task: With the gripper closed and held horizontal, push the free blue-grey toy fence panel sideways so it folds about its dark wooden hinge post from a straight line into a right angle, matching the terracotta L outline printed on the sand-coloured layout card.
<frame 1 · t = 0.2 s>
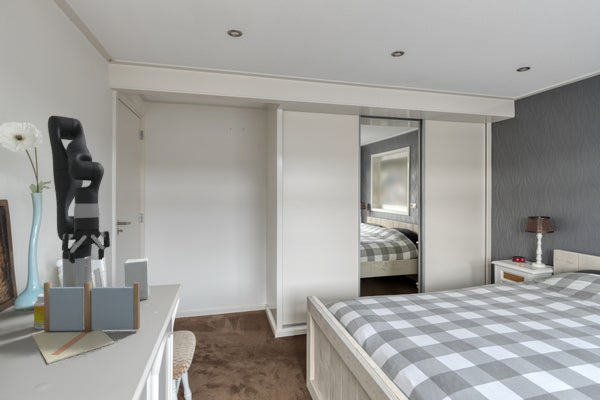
hand: (86, 261, 112), 18 cm above the table, tool pointing down, fingers open, 8 cm apart
layout card: (72, 338, 91), on the table
skincare box: (137, 298, 125), on the table
fence panel: (115, 306, 96), point 8 cm above the table, hinge at 0.0°
supplement bottle: (45, 326, 99), on the table
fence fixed: (88, 331, 96), resting on layout card
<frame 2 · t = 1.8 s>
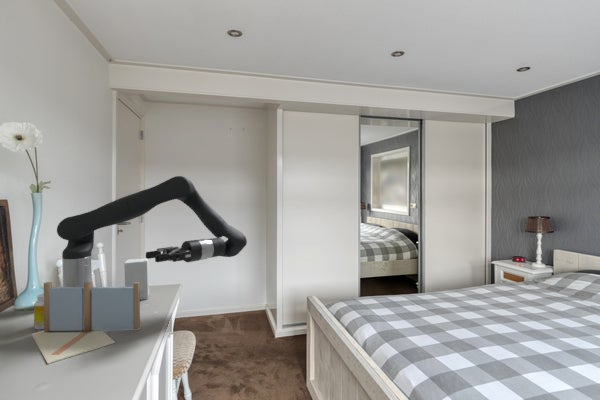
hand: (150, 257, 100), 22 cm above the table, tool horizontal, fingers open, 6 cm apart
nothing on the table moved.
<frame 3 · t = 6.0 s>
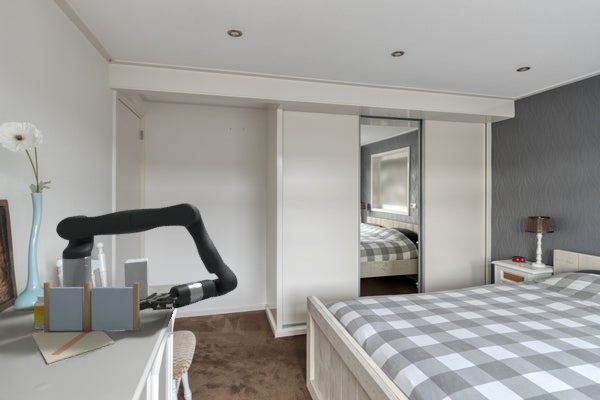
hand: (134, 307, 97), 7 cm above the table, tool horizontal, fingers closed
fence panel: (115, 306, 96), point 8 cm above the table, hinge at -0.9°, touching gripper
everything else where it was.
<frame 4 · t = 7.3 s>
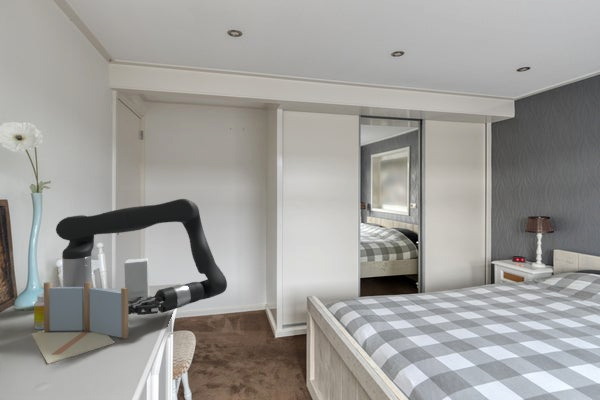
hand: (118, 313, 93), 7 cm above the table, tool horizontal, fingers closed
fence panel: (108, 309, 93), point 8 cm above the table, hinge at -21.3°, touching gripper
everything else where it was.
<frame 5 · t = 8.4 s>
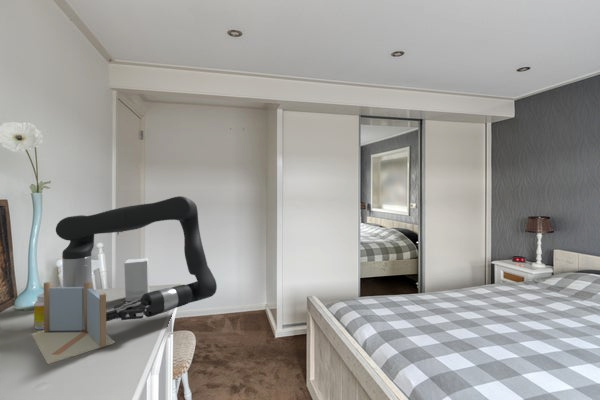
hand: (100, 318, 89), 7 cm above the table, tool horizontal, fingers closed
fence panel: (96, 313, 90), point 8 cm above the table, hinge at -45.7°, touching gripper
everything else where it was.
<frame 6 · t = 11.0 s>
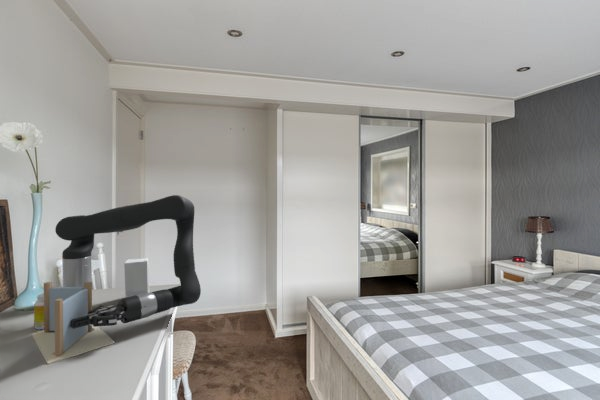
hand: (71, 324, 85), 7 cm above the table, tool horizontal, fingers closed
fence panel: (72, 317, 87), point 8 cm above the table, hinge at -84.7°, touching gripper
everything else where it was.
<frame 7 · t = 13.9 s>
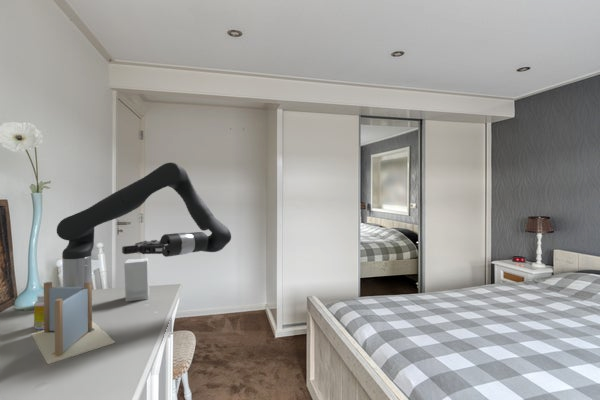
hand: (123, 250, 94), 25 cm above the table, tool horizontal, fingers closed
fence panel: (72, 317, 87), point 8 cm above the table, hinge at -84.8°
everything else where it was.
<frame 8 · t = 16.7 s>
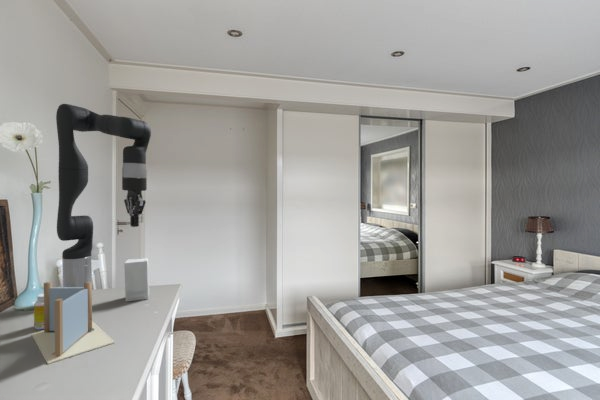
hand: (134, 226, 109), 31 cm above the table, tool pointing down, fingers closed
nothing on the table moved.
at the end: fence panel at -85° (first picture: +0°) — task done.
